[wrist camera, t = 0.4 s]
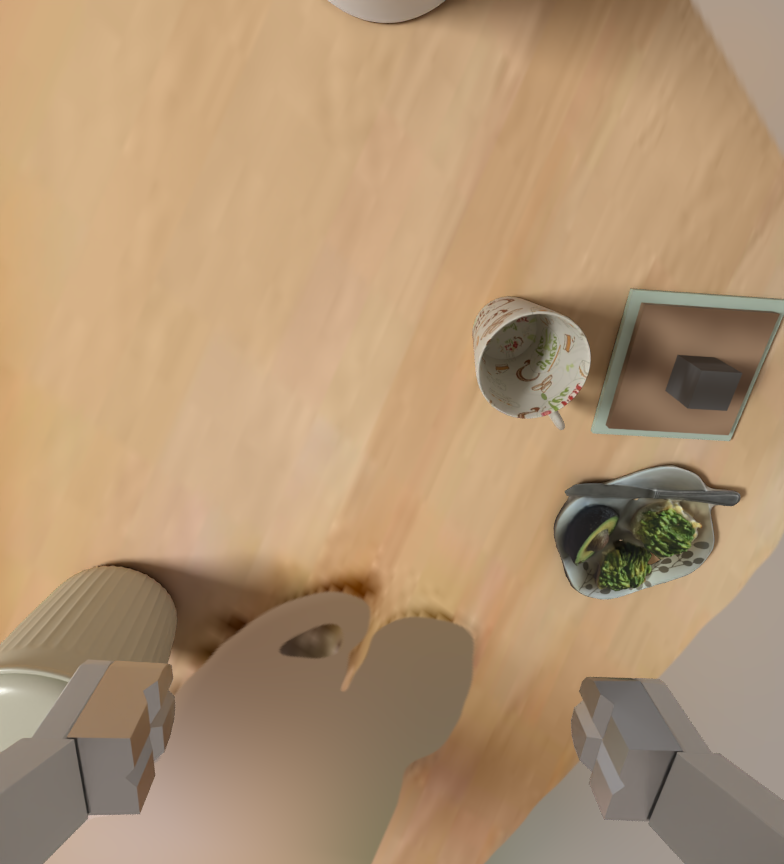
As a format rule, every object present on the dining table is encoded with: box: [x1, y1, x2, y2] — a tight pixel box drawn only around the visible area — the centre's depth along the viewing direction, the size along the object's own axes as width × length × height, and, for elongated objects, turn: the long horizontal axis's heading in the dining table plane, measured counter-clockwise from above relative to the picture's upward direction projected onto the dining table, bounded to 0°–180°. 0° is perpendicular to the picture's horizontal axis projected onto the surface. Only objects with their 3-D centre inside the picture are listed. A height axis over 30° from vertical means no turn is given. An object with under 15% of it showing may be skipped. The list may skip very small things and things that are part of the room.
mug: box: [472, 297, 591, 430], centre depth 43 cm, size 8×12×10 cm, turn 35°
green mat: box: [591, 289, 784, 441], centre depth 48 cm, size 14×14×1 cm
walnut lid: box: [606, 302, 780, 435], centre depth 46 cm, size 12×12×5 cm
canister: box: [0, 566, 177, 753], centre depth 52 cm, size 18×18×21 cm
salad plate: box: [554, 465, 740, 599], centre depth 55 cm, size 19×18×5 cm
